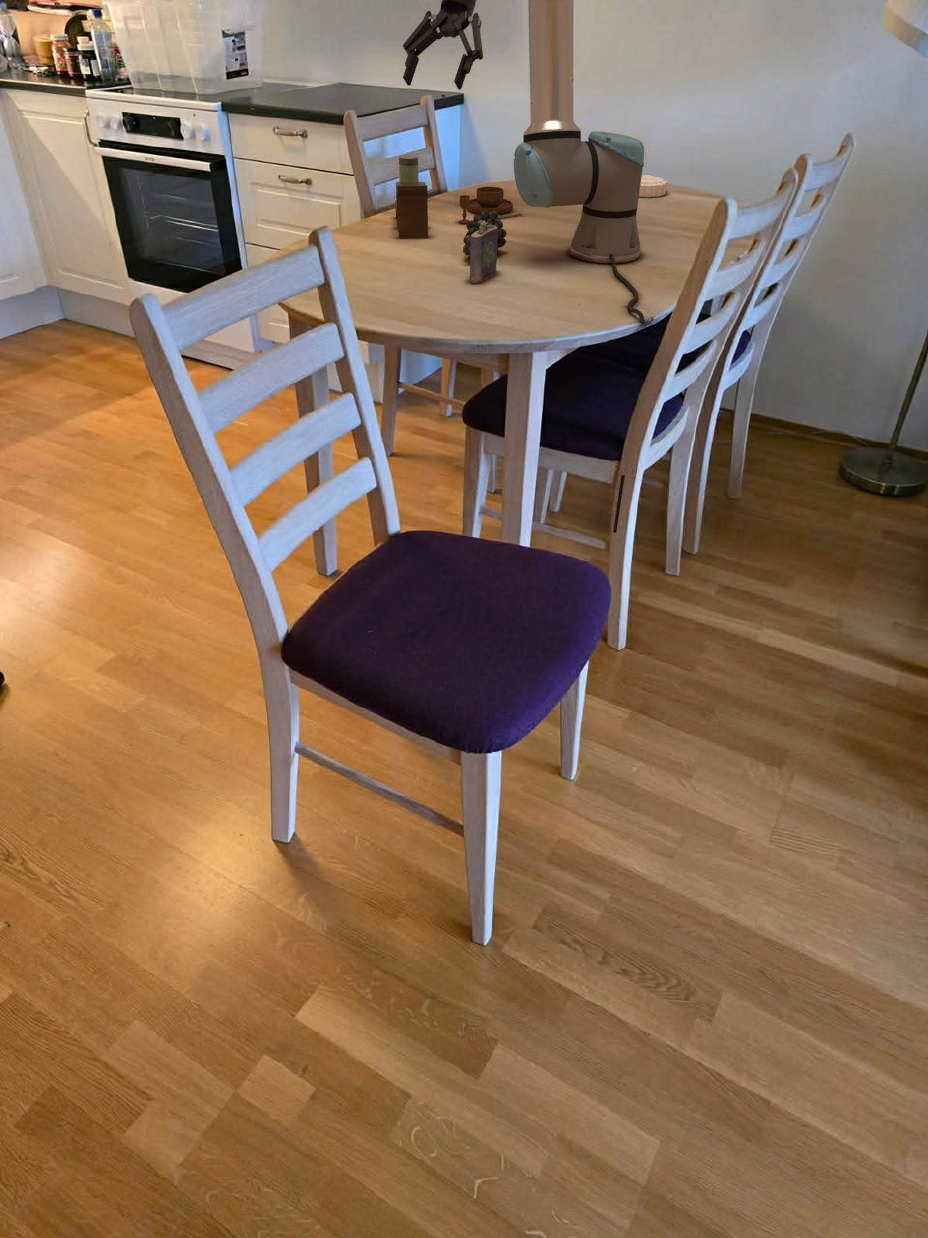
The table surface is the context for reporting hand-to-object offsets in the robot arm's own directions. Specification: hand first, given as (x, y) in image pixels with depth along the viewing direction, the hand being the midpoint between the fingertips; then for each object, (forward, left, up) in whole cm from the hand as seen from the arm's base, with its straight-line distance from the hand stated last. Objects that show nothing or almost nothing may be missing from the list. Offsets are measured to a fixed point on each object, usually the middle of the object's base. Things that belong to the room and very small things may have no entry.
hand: (431, 83), depth 193 cm
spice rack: (-12, +6, -28) cm, 31 cm away
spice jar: (-5, +6, -24) cm, 25 cm away
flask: (-52, -6, -28) cm, 60 cm away
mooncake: (+22, -60, -28) cm, 70 cm away
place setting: (+2, -11, -28) cm, 31 cm away
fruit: (-37, -7, -28) cm, 47 cm away
